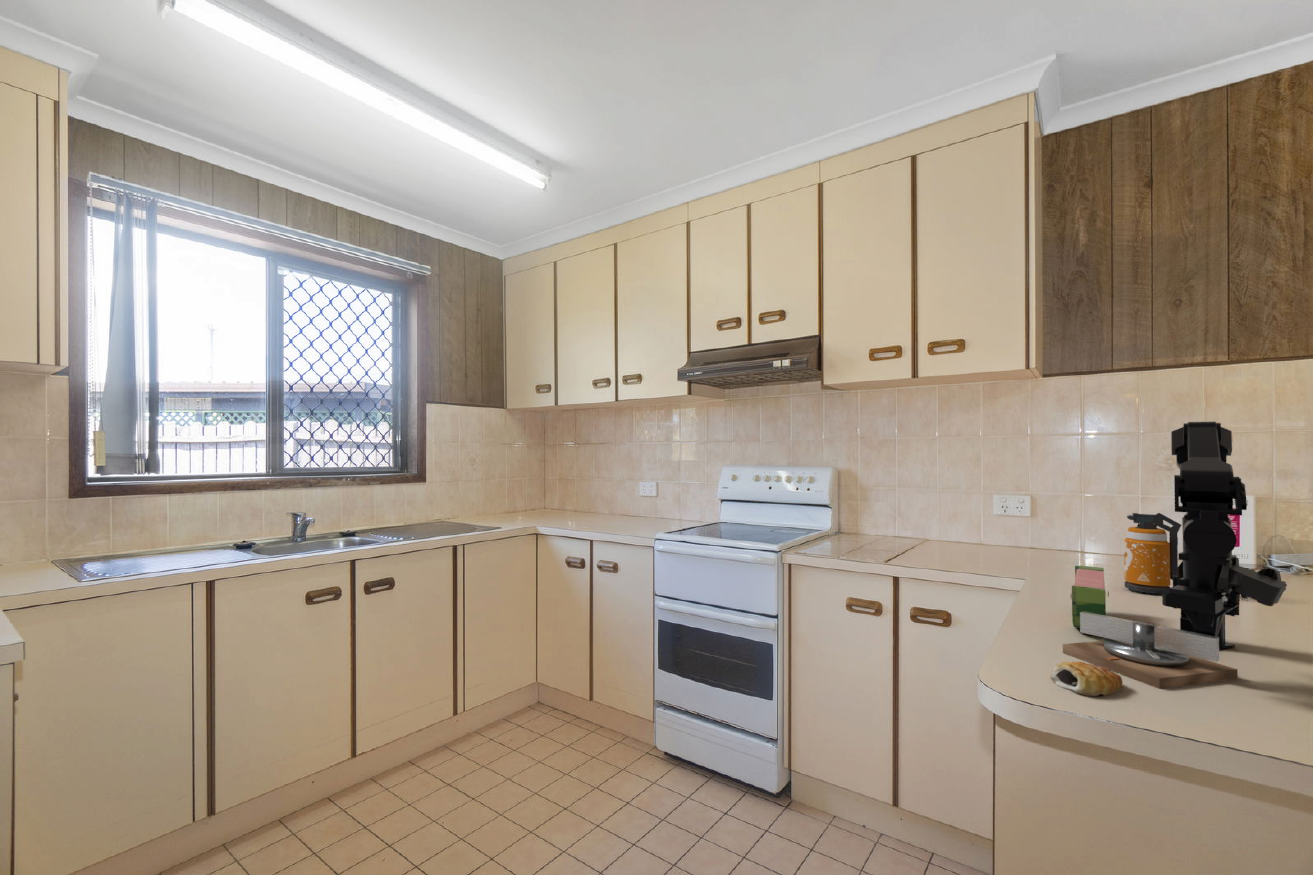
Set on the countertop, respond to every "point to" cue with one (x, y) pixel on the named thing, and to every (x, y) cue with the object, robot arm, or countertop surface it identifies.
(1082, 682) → the pastry
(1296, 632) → the countertop surface
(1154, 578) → the canister
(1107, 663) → the dial board
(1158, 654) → the silver metal stand
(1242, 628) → the countertop surface
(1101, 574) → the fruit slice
